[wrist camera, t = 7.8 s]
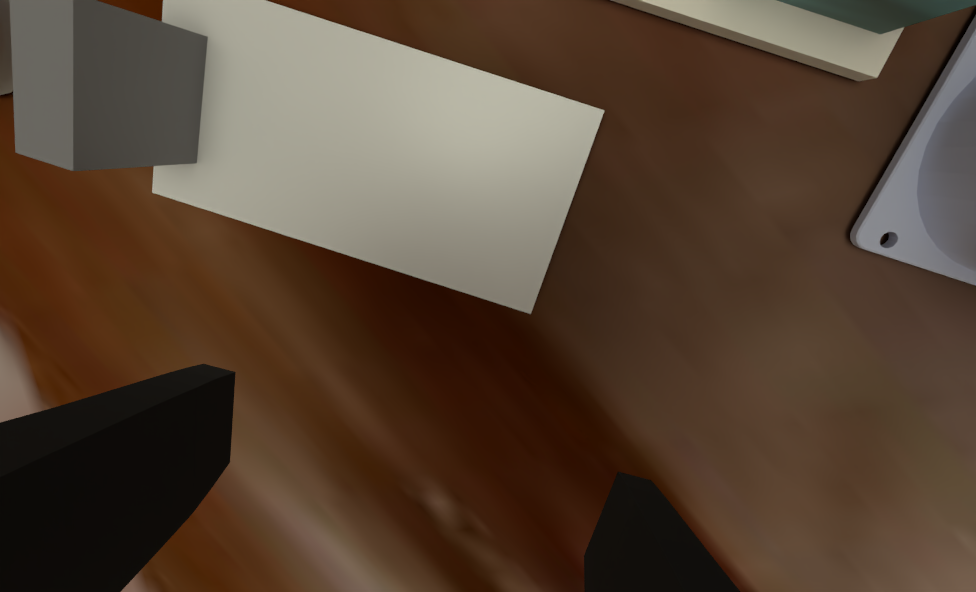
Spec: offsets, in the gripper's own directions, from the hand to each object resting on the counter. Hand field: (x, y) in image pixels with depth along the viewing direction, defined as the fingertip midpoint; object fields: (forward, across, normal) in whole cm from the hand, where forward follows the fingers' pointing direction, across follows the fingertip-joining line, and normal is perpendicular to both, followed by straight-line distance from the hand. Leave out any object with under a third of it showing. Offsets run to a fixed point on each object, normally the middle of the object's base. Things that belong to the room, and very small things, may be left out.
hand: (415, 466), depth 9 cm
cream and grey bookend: (+9, +5, -4) cm, 11 cm away
